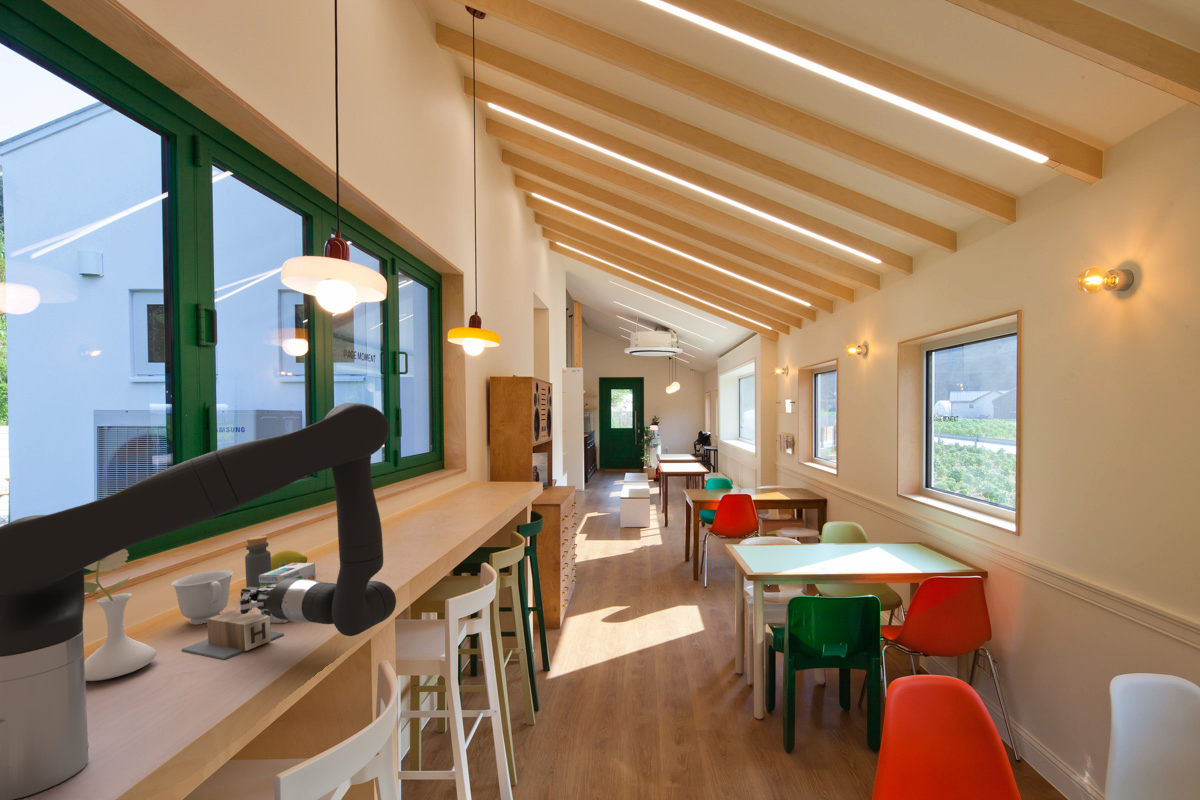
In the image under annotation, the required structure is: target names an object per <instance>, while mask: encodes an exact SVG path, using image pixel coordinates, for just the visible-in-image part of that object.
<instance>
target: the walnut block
mask: <svg viewBox="0 0 1200 800" xmlns="http://www.w3.org/2000/svg"><path fill="white" fill-rule="evenodd" d="M206 624H207V639H208V644H213V645H218V646H223V647H229V648H234V649H239V650H244V651H245V652H247V651H250V650H251V649H254V648H257V647H259V646H261V645H264V644H266V643H268V642H271V641H272V640H271V623H270V616H267V615H261V613H260V614H258V613H252V612H248V613H246V614H241V610H240V611H239V610H229V611H227V612H223V613H221V614H220V615H217V616H214V617H211V618H208V619H207V623H206Z"/></svg>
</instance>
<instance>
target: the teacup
mask: <svg viewBox="0 0 1200 800" xmlns="http://www.w3.org/2000/svg"><path fill="white" fill-rule="evenodd" d="M234 574H235V572H234V571H233V570H231V569H218V570H210V571H204V572H198V573H194V574H190V575H189V574H188V575H186V576H182V577H179V578H177V579H175V580H173V581H172V582H171V584H170V585H171V586H172V587H173V588H174V589H175V592H176V593H175V594H176V597H177V602H178V607H179V610H180V613H181V615H182V616H184V617H185V618H188V619H190V622H189V623H190V624H191V625H203V623H204V624H207V619H208V618H211V617H214V616H217V615H220V613H221V612H222V611H223V610H224V609H226V607H227V606H228V603H229V599H230V588H231V579H232V576H233V575H234Z"/></svg>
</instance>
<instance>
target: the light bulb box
mask: <svg viewBox="0 0 1200 800" xmlns="http://www.w3.org/2000/svg"><path fill="white" fill-rule="evenodd" d="M287 578H299V579H309V580H316V563H315V562H307V563H291V564H289V565H286V566H283V567H281V568H278V569H275V570H272V571H270V572H267V573H264V574H261V575H259V588H260V587H262V586H264V587H267V586H270V585H272V584H278V583H279V582H281V581H282V580H284V579H287ZM260 615H267V616H270V624H271V623H273V624H274V623H275V624H276V623H277V624H283V623H284V624H286V623H288V622H290V621H289V620H283V619H278V618H276V617H274V616H273V615H272V614H271V613H270V612H269V611H268V610H260Z"/></svg>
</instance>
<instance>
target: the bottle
mask: <svg viewBox="0 0 1200 800" xmlns="http://www.w3.org/2000/svg"><path fill="white" fill-rule="evenodd" d="M267 539H268V536H267V535H256V536H252V537H248V538H246V543H247V545H246V547H245V549H246V550H247V551H248V553H247V554H246V555H245V556H244V562H245V563H244V565H245V583H246V584H245V585H246V586H245V588H247V587H257V588H259V575H261V574H264V573H267V572H270V571H271V557H272V555H271V552H270V550H267V548H268V547H269V542H267Z"/></svg>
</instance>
